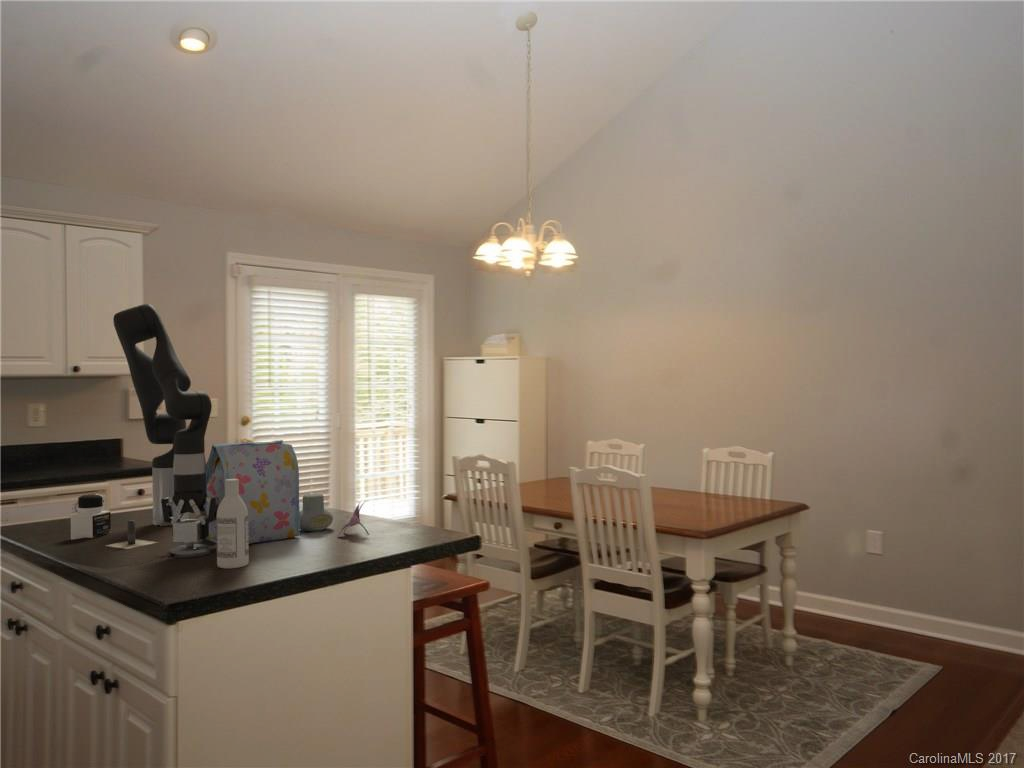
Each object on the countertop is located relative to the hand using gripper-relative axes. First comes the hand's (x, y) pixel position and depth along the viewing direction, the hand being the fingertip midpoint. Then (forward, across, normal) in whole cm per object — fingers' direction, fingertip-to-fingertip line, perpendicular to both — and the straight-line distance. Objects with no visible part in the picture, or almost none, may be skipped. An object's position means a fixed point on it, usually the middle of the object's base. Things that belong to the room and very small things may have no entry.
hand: (190, 538), depth 200 cm
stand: (+4, +19, -7) cm, 21 cm away
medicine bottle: (+4, +37, -20) cm, 42 cm away
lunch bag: (+4, -9, -18) cm, 20 cm away
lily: (+4, -35, -24) cm, 43 cm away
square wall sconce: (0, 0, 0) cm, 0 cm away
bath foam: (+4, -16, +13) cm, 21 cm away
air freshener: (+4, -22, -31) cm, 38 cm away
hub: (+4, 0, 0) cm, 4 cm away
